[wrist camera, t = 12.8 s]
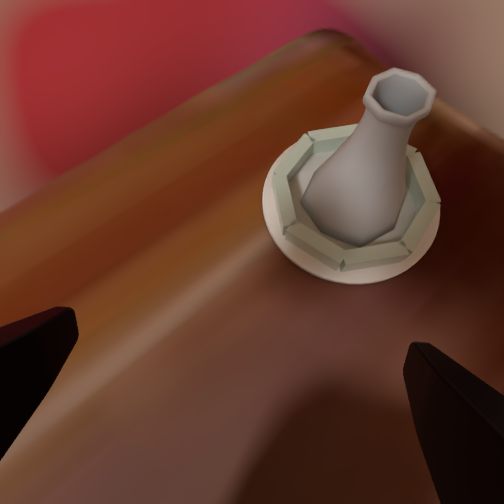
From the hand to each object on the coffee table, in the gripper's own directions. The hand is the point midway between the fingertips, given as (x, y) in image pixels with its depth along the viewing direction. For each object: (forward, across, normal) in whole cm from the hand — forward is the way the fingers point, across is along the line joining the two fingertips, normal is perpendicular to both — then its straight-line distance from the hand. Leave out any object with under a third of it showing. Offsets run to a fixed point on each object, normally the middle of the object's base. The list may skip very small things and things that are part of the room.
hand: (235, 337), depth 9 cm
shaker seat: (+18, -6, +1) cm, 19 cm away
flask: (+18, -6, +1) cm, 19 cm away
